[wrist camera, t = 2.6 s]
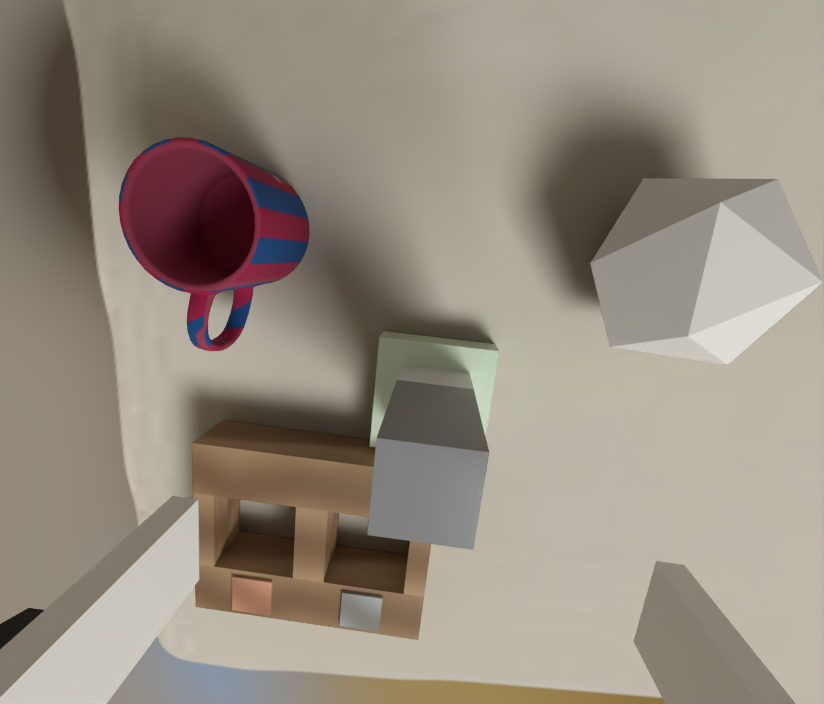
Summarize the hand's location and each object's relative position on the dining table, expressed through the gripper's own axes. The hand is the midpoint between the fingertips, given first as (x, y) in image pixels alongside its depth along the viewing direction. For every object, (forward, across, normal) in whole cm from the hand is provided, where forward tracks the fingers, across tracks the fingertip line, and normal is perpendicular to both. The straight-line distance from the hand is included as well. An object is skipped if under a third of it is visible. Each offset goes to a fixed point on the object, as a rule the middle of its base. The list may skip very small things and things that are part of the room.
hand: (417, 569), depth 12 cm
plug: (+13, 0, 0) cm, 13 cm away
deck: (+15, 0, 0) cm, 15 cm away
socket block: (+16, -6, -10) cm, 19 cm away
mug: (+16, -12, +8) cm, 21 cm away
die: (+15, +12, +10) cm, 22 cm away
